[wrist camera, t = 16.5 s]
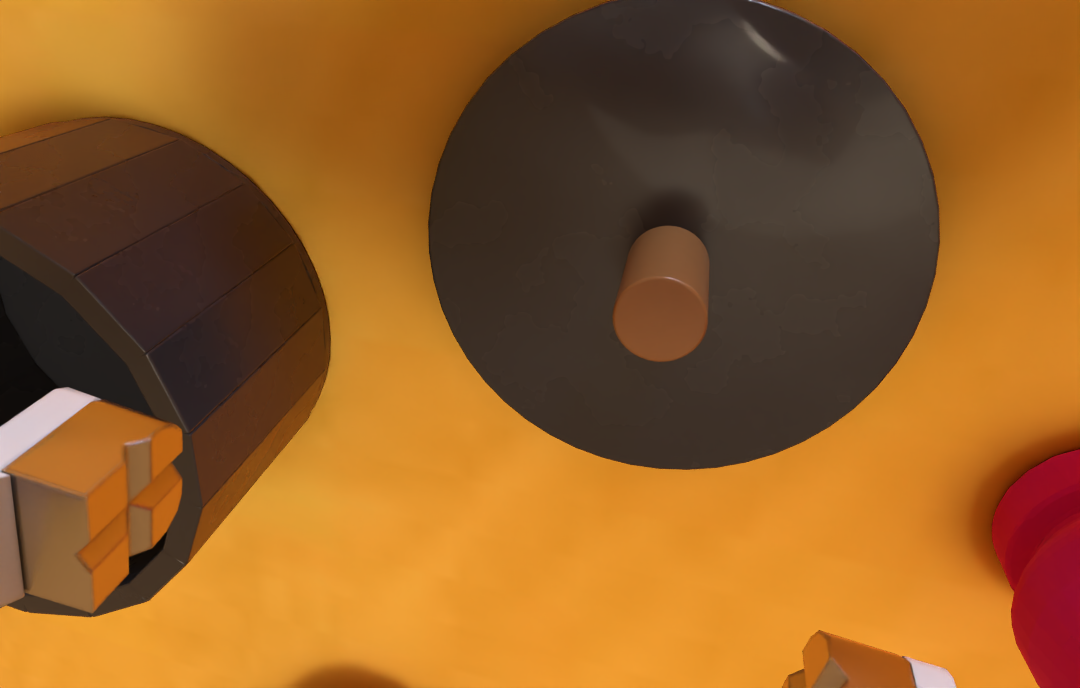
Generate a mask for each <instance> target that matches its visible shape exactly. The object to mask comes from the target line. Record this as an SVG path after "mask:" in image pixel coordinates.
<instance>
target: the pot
mask: <svg viewBox="0 0 1080 688" xmlns="http://www.w3.org/2000/svg"><path fill="white" fill-rule="evenodd" d="M329 353H330V331H329V320H328V314H327V309H326V304H325V300H324V295H323V292H322V289H321V286H320V283H319V281H318V278H317V275H316V272H315V269H314V267H313V265H312V263H311V261H310V259H309V257H308V255H307V253H306V251H305V249H304V247H303V245H302V244H301V242H300V241H299V239H298V237H297V236H296V234H295V233H294V231H293V229H292V228H291V226H290V225H289V223H288V222H287V221H286V219H285V218H284V217H283V216H282V214H281V213H280V212H279V211H278V209H277V208H276V207H275V205H274V204H273V203H272V202H271V201H270V200H269V199H268V198H267V197H266V196H265V194H264V193H263V192H262V191H261V190H260V189H259V188H258V187H257V186H256V185H255V184H254V183H253V182H252V181H251V180H249V179H248V178H247V177H246V176H245V175H243V174H242V173H241V172H240V171H239V170H237V169H236V168H235V167H234V166H233V165H231V164H230V163H229V162H227V161H226V160H224V159H223V158H221V157H220V156H218V155H217V154H215V153H214V152H212V151H211V150H209V149H208V148H206V147H204V146H202V145H200V144H198V143H196V142H195V141H193V140H191V139H189V138H187V137H185V136H183V135H181V134H178V133H175V132H173V131H170V130H167V129H165V128H162V127H159V126H157V125H153V124H149V123H144V122H140V121H136V120H132V119H123V118H113V117H93V118H80V119H76V120H72V121H67V122H55V123H48V124H44V125H41V126H38V127H34V128H31V129H27V130H24V131H21V132H17V133H14V134H10V135H7V136H4V137H0V427H1V426H2V425H3V424H5V423H6V422H8V421H9V420H11V419H12V418H13V417H15V416H16V415H18V414H19V413H21V412H22V411H24V410H25V409H26V408H28V407H29V406H31V405H32V404H34V403H35V402H36V401H38V400H39V399H41V398H42V397H44V396H45V395H47V394H48V393H49V392H51V391H52V390H54V389H59V388H65V387H69V388H72V389H75V390H77V391H80V392H83V393H86V394H89V395H91V396H94V397H97V398H100V399H106V400H109V401H111V402H114V403H117V404H120V405H123V406H126V407H129V408H132V409H134V410H137V411H140V412H143V413H146V414H149V415H152V416H155V417H157V418H160V419H163V420H166V421H169V422H172V423H175V424H176V425H177V426H178V427H179V428H181V429H182V444H183V451H182V452H181V453H180V454H179V455H178V456H177V457H176V458H175V459H174V460H173V461H172V463H173V464H174V466H175V467H176V469H177V471H178V472H179V474H180V475H181V477H182V495H181V499H180V503H179V507H178V511H177V513H176V515H175V516H174V518H173V520H172V522H171V524H170V526H169V528H168V530H167V531H166V533H165V534H164V535H163V536H162V537H161V539H160V540H159V541H158V542H157V543H156V544H155V545H154V547H153V548H152V549H149V550H146V551H144V552H141V553H138V554H136V555H133V556H130V557H129V574H128V575H127V576H126V578H125V579H124V580H123V581H122V582H121V583H120V584H119V585H118V586H117V587H116V588H115V590H114V591H113V592H112V593H111V594H110V595H109V596H108V597H107V598H106V599H105V600H104V602H103V603H102V604H101V605H100V606H99V607H98V608H97V609H96V610H95V611H94V612H93V613H90V612H87V611H83V610H80V609H77V608H73V607H70V606H67V605H64V604H60V603H57V602H54V601H51V600H47V599H44V598H41V597H38V596H34V595H31V594H28V593H24V594H25V596H24V597H23V598H21V599H19V600H16V601H14V602H12V603H10V604H8V605H7V606H10V607H13V608H16V609H18V610H21V611H24V612H27V611H28V612H29V613H41V614H55V615H68V616H82V617H92V616H93V617H95V616H99V615H102V614H106V613H109V612H113V611H116V610H120V609H123V608H127V607H130V606H134V605H137V604H141V603H144V602H147V601H149V600H150V599H151V598H152V597H153V596H155V595H156V594H157V593H158V592H159V591H160V590H161V589H162V588H163V587H164V586H165V585H166V584H167V583H168V582H169V581H170V580H171V579H172V578H173V577H174V576H176V575H177V574H178V573H179V572H180V571H181V570H182V569H183V568H184V567H185V566H186V565H187V564H188V563H189V561H190V560H191V559H192V558H193V557H194V555H195V554H196V553H197V552H198V551H199V549H200V548H201V547H202V546H203V545H204V543H205V542H206V541H207V540H208V539H209V537H210V536H211V535H212V534H213V533H214V531H215V530H216V529H217V528H218V527H219V525H220V524H221V523H222V522H223V521H224V519H225V518H226V517H227V516H228V515H229V513H230V512H231V511H232V510H233V508H234V507H235V506H236V505H237V504H238V502H239V501H240V500H241V499H242V498H243V496H244V495H245V494H246V493H247V492H248V490H249V489H250V488H251V487H252V486H253V484H254V483H255V482H256V481H257V480H258V478H259V477H260V476H261V475H262V474H263V472H264V471H265V470H266V469H267V468H268V466H269V465H270V464H271V463H272V462H273V460H274V459H275V458H276V457H277V456H278V454H279V453H280V452H281V451H282V450H283V448H284V447H285V446H286V445H287V444H288V442H289V441H290V440H291V439H292V438H293V436H294V435H295V434H296V433H297V432H298V430H299V429H300V428H301V427H302V425H303V424H304V423H305V422H306V421H307V419H308V418H309V416H310V413H311V410H312V408H313V407H314V405H315V403H316V402H317V400H318V398H319V395H320V393H321V390H322V387H323V385H324V382H325V378H326V374H327V369H328V364H329Z"/></svg>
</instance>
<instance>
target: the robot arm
mask: <svg viewBox="0 0 1080 688" xmlns="http://www.w3.org/2000/svg"><path fill="white" fill-rule="evenodd" d="M182 451H183V444H182V429H181V428H179V427H178V426H177V425H176V424H175V423H172V422H169V421H166V420H163V419H160V418H157V417H155V416H152V415H149V414H146V413H143V412H140V411H137V410H134V409H132V408H129V407H126V406H123V405H120V404H117V403H114V402H111V401H109V400H106V399H100V398H97V397H94V396H91V395H89V394H86V393H83V392H80V391H77V390H75V389H72V388H69V387H65V388H59V389H54V390H52V391H51V392H49V393H48V394H47V395H45V396H44V397H42V398H41V399H39V400H38V401H36V402H35V403H34V404H32V405H31V406H29V407H28V408H26V409H25V410H24V411H22V412H21V413H19V414H18V415H16V416H15V417H13V418H12V419H11V420H9V421H8V422H6V423H5V424H3V425H2V426H1V427H0V608H2V607H4V606H6V605H8V604H10V603H12V602H14V601H16V600H19V599H21V598H23V597H24V596H25V594H24V593H28V594H31V595H34V596H38V597H41V598H44V599H47V600H51V601H54V602H57V603H60V604H64V605H67V606H70V607H73V608H77V609H80V610H83V611H87V612H90V613H93V612H94V611H95V610H96V609H97V608H98V607H99V606H100V605H101V604H102V603H103V602H104V600H105V599H106V598H107V597H108V596H109V595H110V594H111V593H112V592H113V591H114V590H115V588H116V587H117V586H118V585H119V584H120V583H121V582H122V581H123V580H124V579H125V578H126V576H127V575H128V574H129V557H130V556H133V555H136V554H138V553H141V552H144V551H146V550H149V549H152V548H153V547H154V545H155V544H156V543H157V542H158V541H159V540H160V539H161V537H162V536H163V535H164V534H165V533H166V531H167V530H168V528H169V526H170V524H171V522H172V520H173V518H174V516H175V515H176V513H177V511H178V507H179V503H180V499H181V495H182V477H181V475H180V474H179V472H178V471H177V469H176V467H175V466H174V464H173V463H172V461H173V460H174V459H175V458H176V457H177V456H178V455H179V454H180V453H181V452H182ZM802 652H803V662H804V669H802V670H800V671H797V672H795V673H793V674H790V675H788V677H787V679H786V680H785V682H784V684H783V686H782V688H956V685H955V682H954V679H953V677H952V676H951V674H950V673H949V672H948V671H947V669H945V668H941V667H938V666H935V665H931V664H928V663H925V662H922V661H918V660H915V659H912V658H908V657H905V656H902V657H901V656H899V655H897V654H894V653H890V652H887V651H884V650H881V649H878V648H874V647H871V646H868V645H865V644H862V643H858V642H855V641H852V640H849V639H846V638H842V637H839V636H836V635H833V634H830V633H826V632H823V631H820V630H819V631H818V632H816V633H815V634H814V635H813V636H811V638H810V639H809V641H808V643H807V644H806V646H805V647H804V649H803V651H802Z"/></svg>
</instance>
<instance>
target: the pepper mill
mask: <svg viewBox="0 0 1080 688" xmlns="http://www.w3.org/2000/svg"><path fill="white" fill-rule="evenodd" d="M992 540H993V545H994V548H995V552H996V554H997V557H998V559H999V561H1000V563H1001V565H1002V568H1003V570H1004V572H1005V574H1006V577H1007V579H1008V581H1009V583H1010V586H1011V588H1012V589H1013V591H1014V597H1013V602H1012V608H1011V619H1012V628H1013V632H1014V636H1015V640H1016V644H1017V646H1018V648H1019V650H1020V652H1021V654H1022V655H1023V657H1024V659H1025V661H1026V663H1027V665H1028V667H1029V669H1030V671H1031V673H1032V675H1033V676H1034V678H1035V680H1036V682H1037V684H1038V685H1039V687H1040V688H1080V449H1078V450H1075V451H1071V452H1068V453H1064V454H1061V455H1057V456H1053V457H1052V458H1050V459H1048V460H1046V461H1044V462H1043V463H1041V464H1039V465H1037V466H1036V467H1034V468H1032V469H1030V470H1028V471H1027V472H1026V473H1025V474H1024V475H1023V476H1022V477H1020V478H1019V479H1018V480H1017V481H1016V482H1015V483H1014V484H1013V485H1012V486H1011V487H1009V489H1008V490H1007V492H1006V493H1005V495H1004V496H1003V498H1002V500H1001V501H1000V503H999V505H998V507H997V509H996V511H995V514H994V518H993V522H992Z"/></svg>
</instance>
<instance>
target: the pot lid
mask: <svg viewBox="0 0 1080 688" xmlns="http://www.w3.org/2000/svg"><path fill="white" fill-rule="evenodd" d="M428 228H429V254H430V260H431V267H432V273H433V279H434V283H435V287H436V290H437V294H438V297H439V300H440V304H441V307H442V310H443V312H444V315H445V317H446V319H447V321H448V324H449V326H450V328H451V331H452V333H453V335H454V337H455V338H456V340H457V342H458V343H459V345H460V347H461V349H462V350H463V352H464V354H465V355H466V357H467V359H468V360H469V361H470V363H471V364H472V365H473V367H474V368H475V369H476V371H477V372H478V373H479V374H480V376H481V377H482V378H483V380H484V381H485V382H486V383H487V384H488V385H489V386H490V387H491V388H492V389H493V390H494V391H495V392H496V393H497V394H498V395H499V396H500V398H501V399H502V400H503V401H504V402H506V403H507V404H508V405H509V406H510V407H512V408H513V409H514V410H515V411H517V412H518V413H519V414H520V415H521V416H523V417H524V418H525V419H526V420H528V421H529V422H531V423H533V424H534V425H536V426H537V427H539V428H540V429H542V430H543V431H545V432H546V433H548V434H550V435H551V436H553V437H555V438H557V439H559V440H561V441H563V442H565V443H567V444H569V445H571V446H573V447H575V448H578V449H581V450H584V451H586V452H589V453H592V454H594V455H597V456H600V457H603V458H606V459H610V460H614V461H618V462H622V463H626V464H630V465H637V466H644V467H651V468H658V469H683V470H689V469H704V468H717V467H723V466H728V465H734V464H740V463H745V462H749V461H752V460H756V459H759V458H762V457H766V456H769V455H772V454H775V453H778V452H780V451H783V450H785V449H787V448H790V447H792V446H794V445H797V444H799V443H801V442H803V441H805V440H807V439H809V438H811V437H812V436H814V435H816V434H818V433H819V432H821V431H823V430H825V429H826V428H828V427H830V426H831V425H832V424H834V423H835V422H837V421H838V420H839V419H841V418H842V417H843V416H845V415H846V414H847V413H849V412H850V411H851V410H853V409H854V408H855V407H856V406H857V405H858V404H859V403H860V402H862V401H863V400H864V399H865V398H866V397H867V396H868V395H869V394H870V393H871V392H872V391H873V390H874V389H875V388H876V387H877V386H878V385H879V384H880V382H881V381H882V380H883V379H884V378H885V376H886V375H887V374H888V373H889V371H890V370H891V369H892V368H893V367H894V365H895V364H896V363H897V361H898V360H899V358H900V356H901V355H902V353H903V352H904V350H905V348H906V347H907V345H908V344H909V342H910V340H911V339H912V337H913V335H914V333H915V331H916V329H917V326H918V324H919V322H920V320H921V317H922V315H923V313H924V311H925V308H926V306H927V303H928V299H929V296H930V292H931V289H932V285H933V282H934V278H935V275H936V267H937V259H938V252H939V244H940V224H939V204H938V198H937V192H936V186H935V181H934V175H933V172H932V169H931V166H930V163H929V160H928V157H927V154H926V151H925V148H924V145H923V142H922V140H921V138H920V136H919V134H918V132H917V130H916V128H915V126H914V124H913V122H912V120H911V118H910V117H909V115H908V113H907V111H906V109H905V108H904V106H903V105H902V104H901V102H900V101H899V99H898V98H897V97H896V95H895V94H894V93H893V91H892V90H891V89H890V87H889V86H888V84H887V83H886V82H885V80H884V79H883V78H882V77H881V76H880V75H879V74H878V73H877V72H876V71H875V70H874V69H873V68H872V67H871V66H870V65H869V64H868V63H867V62H866V61H865V60H864V59H863V58H862V57H861V56H860V55H859V54H858V53H857V52H856V51H854V50H853V49H852V48H850V47H849V46H847V45H846V44H845V43H843V42H842V41H841V40H839V39H838V38H837V37H835V36H834V35H833V34H831V33H830V32H829V31H827V30H826V29H824V28H822V27H820V26H818V25H816V24H815V23H813V22H811V21H809V20H807V19H805V18H803V17H801V16H799V15H798V14H796V13H794V12H792V11H789V10H786V9H783V8H780V7H777V6H775V5H772V4H769V3H766V2H763V1H761V0H611V1H607V2H605V3H602V4H599V5H597V6H594V7H592V8H589V9H586V10H584V11H581V12H578V13H576V14H574V15H572V16H570V17H568V18H566V19H564V20H563V21H561V22H559V23H557V24H555V25H553V26H552V27H550V28H548V29H546V30H544V31H543V32H541V33H539V34H538V35H537V36H535V37H534V38H533V39H531V40H530V41H529V42H527V43H526V44H525V45H523V46H522V47H521V48H519V49H518V50H516V51H515V52H514V53H512V54H511V55H510V56H509V57H508V58H507V59H506V60H505V61H504V62H503V63H502V64H501V65H500V66H499V67H498V68H497V69H496V70H495V71H494V72H493V73H492V74H491V75H490V76H489V77H488V78H487V79H486V80H485V82H484V83H483V84H482V86H481V87H480V88H479V89H478V91H477V92H476V93H475V95H474V96H473V97H472V99H471V100H470V101H469V102H468V104H467V105H466V107H465V109H464V110H463V112H462V114H461V116H460V117H459V119H458V121H457V123H456V125H455V126H454V128H453V130H452V132H451V133H450V136H449V138H448V141H447V143H446V146H445V149H444V151H443V154H442V156H441V159H440V161H439V164H438V168H437V172H436V176H435V180H434V185H433V189H432V193H431V202H430V212H429V221H428Z"/></svg>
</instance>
